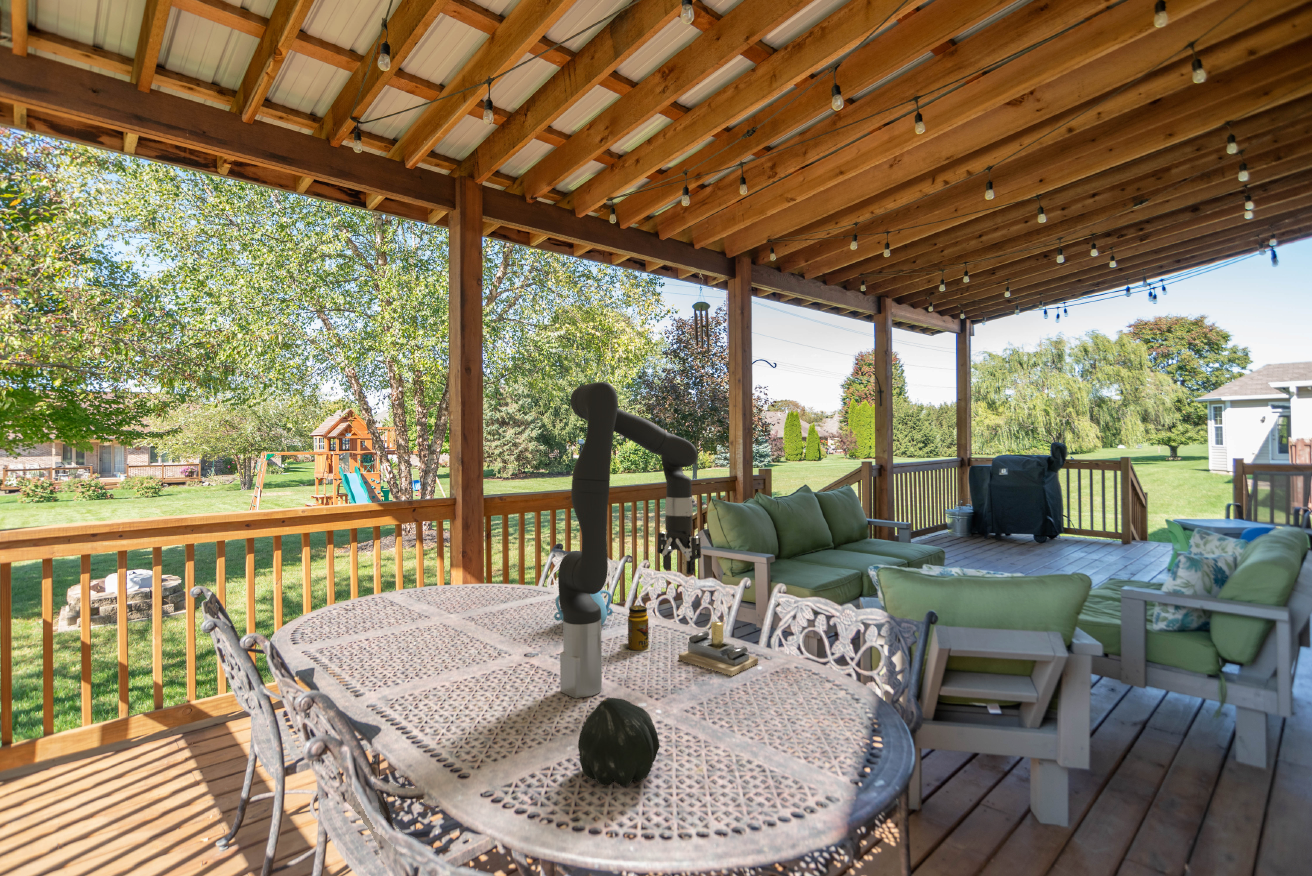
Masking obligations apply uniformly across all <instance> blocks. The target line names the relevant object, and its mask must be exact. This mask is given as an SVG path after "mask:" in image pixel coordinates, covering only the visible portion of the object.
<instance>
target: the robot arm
mask: <svg viewBox="0 0 1312 876" xmlns="http://www.w3.org/2000/svg"><path fill="white" fill-rule="evenodd" d="M570 406H571V409H572V412H573V413H574V414H575V415H576V416H577V417H578V418H580V419H582V420H584V421H587V426H586V427H587V428H586V437H585V440H584V444H583V446H582V449H581V450H580V451H581V452H580V453H579V455H578V458H577V460H576V462H575V465H574V468H573V471H572V477H571V478H572V479H571V493H570V494H571V495H570V496H571V504H572V508H573V511H574V514H575V516H576V519H577V522H578V524H579V528H580V531H581V552H579V551H571V552H569V553H567V554H566V555H565V556H563V558H562V559H561V561H560V564H559V567H558V574H557V576H558V577H557V580H558V581H557V583H558V595H559V606H560V609H561V611H562V613H563V621H562V624H563V625H562V627H563V628H562V629H563V632H562V633H563V635H562V636H563V638H562V639H563V640H562V643H563V650H562V652H560V654H559V661H560V662H559V665H560V669H559V673H560V674H559V676H560V693H563V694H565V695H567V696H569V697H571V698H574V699H580V698H588V697H592V696H595V695H598V693H601V691H602V690H603V685H602V684H603V681H602V679H603V672H602V671H603V670H602V668H603V666H602V663H603V661H602V657H603V656H602V652H603V651H602V626H601V608H600V606H599V605H598V604H597V603H596V602H595V601H594V600H593V599H592V597H591V595H590V594H596V593H598V592H599V591H601V590H603V588H604V586H605V584H606V582H607V577H608V566H609V564H608V563H609V562H608V537H607V536H608V528H607V527H608V512H609V510H608V508H609V507H608V506H609V496H610V485H611V484H610V480H611V462H612V461H611V460H612V451H613V450H612V449H613V439H614V434H615V433H616V434H619V435H620V436H622V437H624V438H626V439H628V440H630V441H631V442H633V443H635V444H637V445H638V446H640V447H642V448H643V449H645V450H647V451H648V452H650V453H652V454H654V455H659V456H660V458H661V465H662V469H663V475H664V478H665V481H666V488H665V489H666V493H665V494H666V498H665V499H666V500H665V507H664V508H665V509H664V510H665V513H664V515H665V518H664V519H665V521H664V522H665V523H664V524H665V527H664V529H665V531H661V532H658V535H657V551H656V552H657V553H658V554H659V555H660V554H661V555H662V566H663V570H665V571H669V570H671V569H672V556H671V555H672V553H673V552H674V551H675V550H677V551H678V552H679V551H681V553H682V554H683V555H684V556H685V559H686V565H685V567H686V575H688V576H690V575H694V573H695V569H696V568H695V566H696V565H695V561H696V560H697V559H701V557H702V550H701V549H702V548H701V546H702V545H701V537H700V536H699V535H697V536H692V533H691V532H692V530H693V501H692V499H693V498H692V497H693V496H692V492H693V491H692V490H693V489H692V487H693V486H692V478H690V476H687V475H685V474H684V471H683V468H688V467H691V466H694V464H695V463H696V462H697V459H698V450H697V449H696V446H695V445H694V444H693V443H692V442H691V441H689V440H687V439H685V438H683V437H680V436H678V435H675V434H672V433H670V432H668V431H666V430H665V429H663V428H662V427H661V426H659V425H657V424H655V423H654V422H653V421H650V420H647V418H643V417H641V416H638V415H635V414H634V413H629V412H628V411H625V410H623V409H621V408H619V398H618V393H617V391H616V389H615V387H614V386H613V385H612V384H611V383H609V382H607V381H597V382H592V383H586V384H582V385H580V386H578V387H576V388H575V389H574V390H573V392H572V393H571V396H570Z"/></svg>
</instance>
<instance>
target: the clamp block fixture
mask: <svg viewBox="0 0 1312 876" xmlns="http://www.w3.org/2000/svg"><path fill="white" fill-rule="evenodd" d="M681 660H682V662H685V663H687V662H689V663H688V664H691V663H692V664H691V665H694V664H695V666H697V665H698V666H697V667H700V666H701V668H703V667H704V669H707V668H710V669H713V670H715V671H714V672H716V671H719V672H722V673H721V674H723V673H724V674H723V675H726V674H728V675H727V676H729V675H730V676H729V677H734V676H736V675H738V674H740V673H741V672H740V671H742V672H744V671H746V670H748V669H750V668H752V667H754V666H756V665H758V664H759V658H758V657H756V656H752V655H750V654H749V653H748V647H747V646H745V645H743V646H741V647H739V648H736V649H735V644H732V643H729V642H725V641H723V648H721V649H717V648H714V647H712V637H711V638H710V632H709V631H708V630H705V631H702V632H700V633H696V634H694V635H690V636H689V638H688V641H687V650H686V651H683V652H681V653H679V654H678V661H681ZM757 663H758V664H757ZM755 664H756V665H755ZM753 665H754V666H753ZM751 666H752V667H751ZM749 667H750V668H749ZM747 668H748V669H747ZM710 669H709V670H710ZM745 669H746V670H745ZM713 670H712V671H713ZM743 670H744V671H743ZM719 672H718V673H719ZM739 672H740V673H739ZM737 673H738V674H737ZM735 674H736V675H735ZM733 675H734V676H733Z"/></svg>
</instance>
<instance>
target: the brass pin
mask: <svg viewBox="0 0 1312 876" xmlns="http://www.w3.org/2000/svg"><path fill="white" fill-rule="evenodd" d="M710 624H711V628H710V629H711V639H712V647H714V648H717V649H721V648H723V642H724V622H722V621H716V620H715V621H712V622H711V623H710Z"/></svg>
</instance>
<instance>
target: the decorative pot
mask: <svg viewBox="0 0 1312 876" xmlns="http://www.w3.org/2000/svg"><path fill="white" fill-rule="evenodd" d="M602 594H606V595H607V602H605V600H604V597H603V595H602ZM590 595H591V597H592V599H593V600H594V601H595V602H596V603H597V604H598V605H599V606H600V608H601V627H602V626H603V625H604V624H605V622H606V620H607V618H608V617H609V616H611V615H613V613H614V610H613V608H612V607H610V605H611V602H612V594H611V592H610V591H608V590H606V589H601V590H600V591H599V592H598V593H596V594H590ZM554 602H555V603H554V604H555V606H556V610H557V612H555V613H554V615H553V618H554V620H556V621H559V622H560V621H562V622H563V613H562V611H561V608H560V602H559V594H558V595H557V596H556V597H555V601H554ZM558 615H559V616H558Z"/></svg>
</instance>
